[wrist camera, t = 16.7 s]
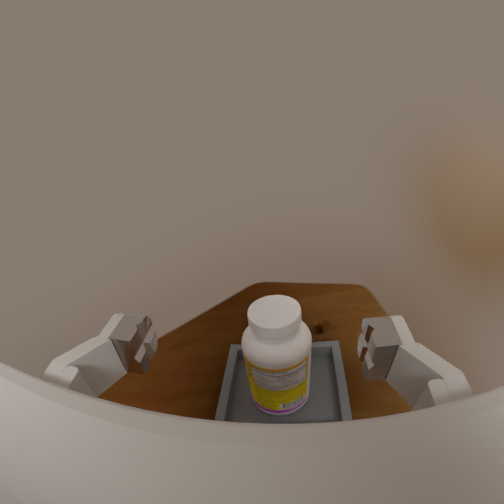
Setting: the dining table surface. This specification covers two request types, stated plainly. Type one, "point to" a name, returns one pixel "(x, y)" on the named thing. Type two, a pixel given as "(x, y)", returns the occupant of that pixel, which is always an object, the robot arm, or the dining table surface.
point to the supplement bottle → (277, 354)
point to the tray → (315, 408)
